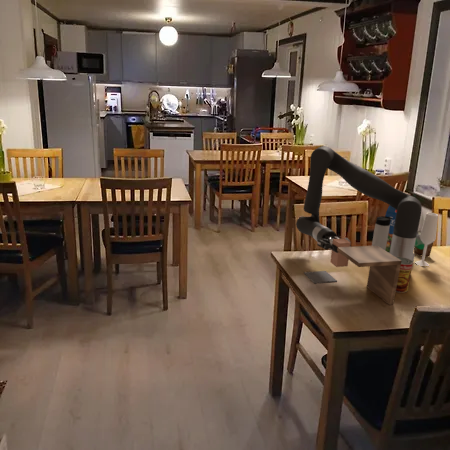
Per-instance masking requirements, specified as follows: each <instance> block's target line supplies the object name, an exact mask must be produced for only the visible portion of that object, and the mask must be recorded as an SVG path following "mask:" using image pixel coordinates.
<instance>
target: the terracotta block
mask: <svg viewBox="0 0 450 450" xmlns="http://www.w3.org/2000/svg"><path fill="white" fill-rule="evenodd" d="M345 238H346V237H345ZM345 238H344V237H343V238H341V239H333V245H336V246H337V247H350V245H352V241H350V242H349V241H348V240H346V239H345ZM349 261H350V260H349V259H347V258H346V257H344V256H343V255H342V254H340V253H339V252H338V253H336V252H334V251H333V250H331V253H330V263H331V264H332V265H333V266H334V267H336V268H341V267H348V266H349Z"/></svg>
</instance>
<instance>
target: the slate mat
mask: <svg viewBox="0 0 450 450" xmlns="http://www.w3.org/2000/svg"><path fill="white" fill-rule="evenodd" d="M303 274H304V275H305V277H307V278H308V279H309V280H310V281H312V283H313V284H324V283H337V281H338V280H337V279H336V278H335V277H334V276H332V275H331V274H330V273H329V272H327V270H317V271H304V272H303Z"/></svg>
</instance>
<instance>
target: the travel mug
mask: <svg viewBox="0 0 450 450" xmlns="http://www.w3.org/2000/svg"><path fill="white" fill-rule="evenodd" d="M391 219H392V218H391V217H386V216H385V215H384V216H383V215H381V216H377V217H376V218H375V224H374V231H373V235H372V237H373V238H372V242H371V246H378V247H380V248H382V249H383V250H386V244H387V239H388V233H389V227H390V221H391Z"/></svg>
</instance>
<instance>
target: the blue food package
mask: <svg viewBox="0 0 450 450" xmlns="http://www.w3.org/2000/svg"><path fill="white" fill-rule="evenodd" d="M396 213H397V210H396V209H395V208H393V207H392V206H390V205H389V204H388V208H387V209H386V212H385V215H384V216H386V217H391V218H392V219H391V221H390V227H389V233H388V239H387V244H386V250H385V251H387V252H388V253H390V248H391V242H392V237H393V231H394V225H395V219H396Z"/></svg>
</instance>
